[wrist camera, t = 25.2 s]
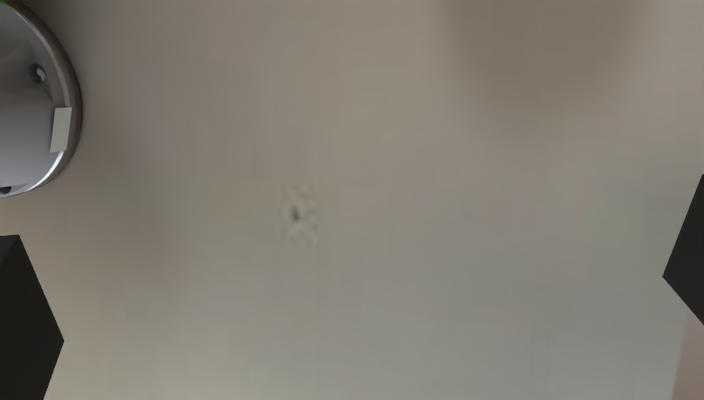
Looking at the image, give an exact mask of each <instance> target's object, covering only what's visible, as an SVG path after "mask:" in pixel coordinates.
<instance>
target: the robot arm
mask: <svg viewBox="0 0 704 400" xmlns="http://www.w3.org/2000/svg"><path fill="white" fill-rule="evenodd" d="M80 127H81V100H80V93H79V88H78V84H77V80H76V76H75V74H74V71H73V68H72V65H71V63H70V61H69V59H68V56H67V55H66V53H65V51H64V49H63V47H62V46H61V44H60V42H59V41H58V39H57V38H56V37H55V35H54V34H53V33H52V31H51V30H50V29H49V28H48V27H47V26H46V24H45V23H44V22H43V21H42V20H41V19H40V18H39V17H38V16H36V15H35V14H34V13H33V12H32V11H30V10H29V9H28V8H26V7H25V6H23V5H22V4H20V3H19V2H17V1H15V0H0V197H10V196H14V195H18V194H21V193H24V192H27V191H30V190H33V189H35V188H38V187H41V186H43V185H45V184H46V183H48V182H50V181H51V180H52V179H54V178H55V177H56V176H57V175H58V174H59V173H60V172H61V171H62V170H63V169H64V168H65V166H66V165H67V163H68V162H69V160H70V158H71V156H72V155H73V152H74V150H75V147H76V145H77V141H78V138H79V133H80ZM662 277H663V278H664V279H665V280H666V281H667V283H668V284H669V285H670V286H671V287H672V288H673V290H674V291H675V292H676V293H677V294H678V295H679V297H680V298H681V299H682V300H683V301H684V302H685V304H686V305H687V306H688V307H689V308H690V309H691V311H692V312H693V313H694V314H695V315H696V316H697V318H698V319H699V320H700V321H701V322H702V323H703V325H704V174H702V176H701V179H700V182H699V184H698V187H697V189H696V192H695V194H694V197H693V199H692V202H691V205H690V207H689V210H688V212H687V215H686V217H685V220H684V223H683V225H682V228H681V230H680V233H679V235H678V238H677V240H676V243H675V246H674V248H673V251H672V253H671V256H670V258H669V261H668V263H667V266H666V269H665V271H664V274H663V276H662ZM63 343H64V339H63V337H62V334H61V332H60V330H59V327H58V325H57V323H56V320H55V318H54V316H53V313H52V311H51V309H50V306H49V304H48V302H47V299H46V297H45V295H44V292H43V290H42V288H41V285H40V283H39V281H38V278H37V276H36V274H35V271H34V269H33V267H32V264H31V262H30V260H29V257H28V255H27V253H26V250H25V248H24V246H23V243H22V241H21V239H20V236H19V235H8V236H0V400H43V399H44V396H45V393H46V391H47V388H48V385H49V382H50V379H51V377H52V374H53V371H54V368H55V365H56V363H57V360H58V357H59V354H60V351H61V348H62V346H63Z"/></svg>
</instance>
